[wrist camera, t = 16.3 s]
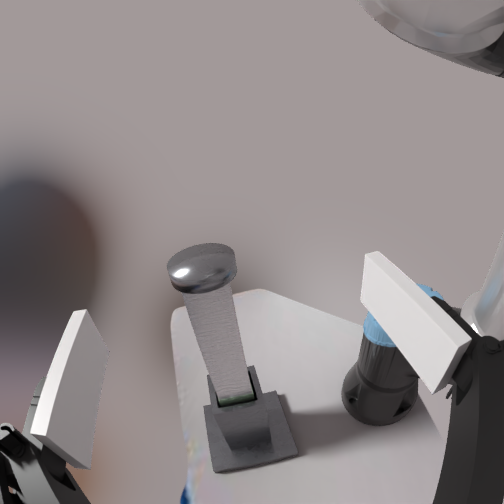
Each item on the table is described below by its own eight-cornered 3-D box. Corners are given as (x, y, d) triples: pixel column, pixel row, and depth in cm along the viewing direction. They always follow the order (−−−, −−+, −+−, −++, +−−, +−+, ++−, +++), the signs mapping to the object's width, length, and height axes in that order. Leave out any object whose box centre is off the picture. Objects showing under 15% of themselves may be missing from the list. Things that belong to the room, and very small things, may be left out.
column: (218, 401, 41) (168, 250, 28) (257, 392, 42) (229, 238, 29) (224, 433, 36) (165, 284, 23) (266, 424, 37) (240, 269, 24)
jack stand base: (205, 409, 48) (181, 358, 41) (276, 394, 50) (270, 340, 42) (215, 473, 36) (187, 437, 28) (298, 455, 38) (299, 414, 30)
